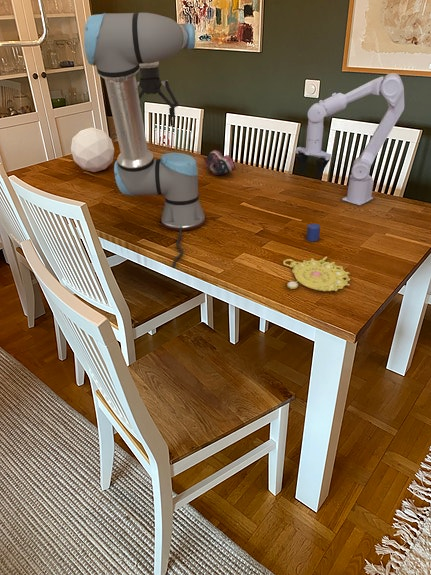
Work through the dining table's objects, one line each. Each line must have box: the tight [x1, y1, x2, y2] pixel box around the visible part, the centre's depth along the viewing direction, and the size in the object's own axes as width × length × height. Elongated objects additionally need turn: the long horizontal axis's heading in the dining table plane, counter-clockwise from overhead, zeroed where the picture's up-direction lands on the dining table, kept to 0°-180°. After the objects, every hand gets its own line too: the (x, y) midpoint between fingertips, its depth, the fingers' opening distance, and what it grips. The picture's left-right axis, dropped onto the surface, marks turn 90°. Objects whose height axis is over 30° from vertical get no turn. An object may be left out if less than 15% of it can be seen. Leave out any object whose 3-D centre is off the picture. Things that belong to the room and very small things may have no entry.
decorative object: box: [282, 255, 351, 292], centre depth 122 cm, size 21×2×20 cm
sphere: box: [70, 126, 115, 173], centre depth 204 cm, size 19×20×20 cm
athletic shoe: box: [201, 149, 237, 176], centre depth 198 cm, size 11×22×12 cm
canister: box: [306, 223, 321, 242], centre depth 141 cm, size 4×4×4 cm
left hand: (154, 126), depth 175 cm, fingers open, 13 cm apart
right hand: (310, 175), depth 169 cm, fingers open, 7 cm apart
